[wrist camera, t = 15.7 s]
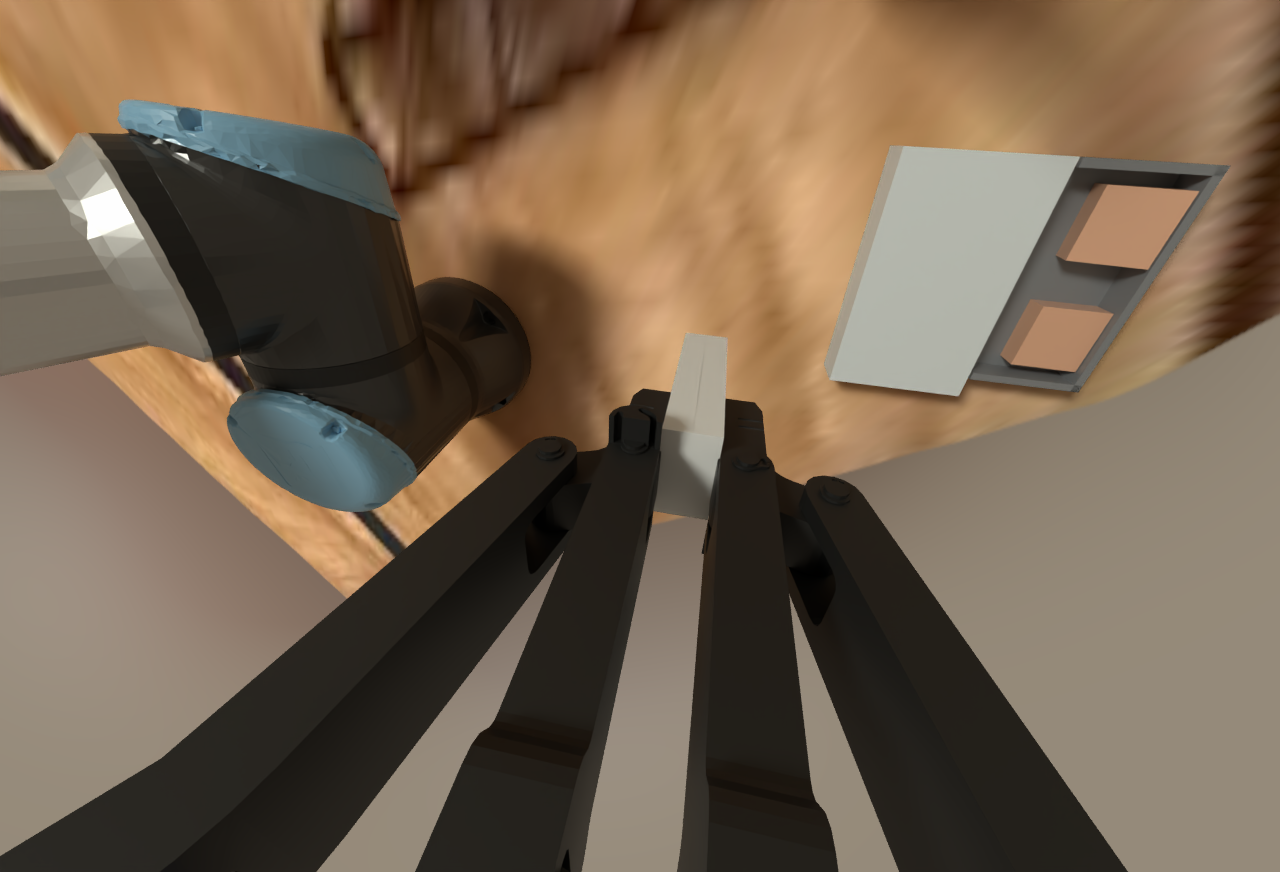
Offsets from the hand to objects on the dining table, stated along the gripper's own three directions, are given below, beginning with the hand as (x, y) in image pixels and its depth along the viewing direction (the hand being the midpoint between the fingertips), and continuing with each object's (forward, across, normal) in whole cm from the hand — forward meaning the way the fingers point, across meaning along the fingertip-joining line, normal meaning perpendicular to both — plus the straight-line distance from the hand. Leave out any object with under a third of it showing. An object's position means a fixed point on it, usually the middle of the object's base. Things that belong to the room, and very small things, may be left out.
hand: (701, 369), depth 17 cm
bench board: (+27, +17, -2) cm, 32 cm away
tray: (+27, +27, -1) cm, 39 cm away
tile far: (+25, +28, -5) cm, 38 cm away
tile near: (+24, +28, +4) cm, 37 cm away
